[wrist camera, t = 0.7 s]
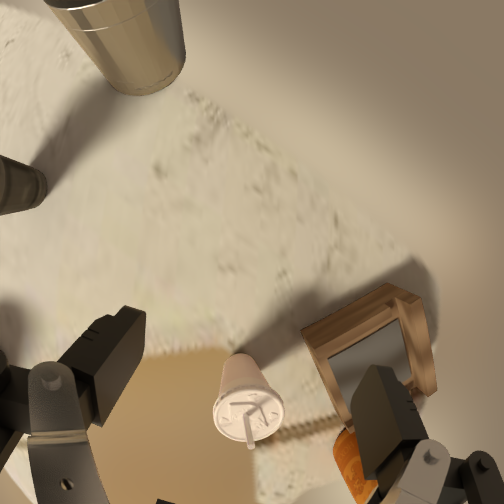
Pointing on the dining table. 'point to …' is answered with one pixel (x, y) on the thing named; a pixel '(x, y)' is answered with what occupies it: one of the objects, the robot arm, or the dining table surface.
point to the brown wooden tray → (372, 345)
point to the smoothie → (246, 402)
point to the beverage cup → (20, 186)
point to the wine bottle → (352, 466)
